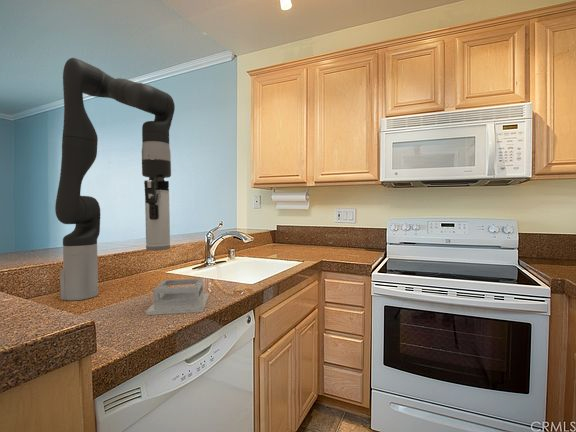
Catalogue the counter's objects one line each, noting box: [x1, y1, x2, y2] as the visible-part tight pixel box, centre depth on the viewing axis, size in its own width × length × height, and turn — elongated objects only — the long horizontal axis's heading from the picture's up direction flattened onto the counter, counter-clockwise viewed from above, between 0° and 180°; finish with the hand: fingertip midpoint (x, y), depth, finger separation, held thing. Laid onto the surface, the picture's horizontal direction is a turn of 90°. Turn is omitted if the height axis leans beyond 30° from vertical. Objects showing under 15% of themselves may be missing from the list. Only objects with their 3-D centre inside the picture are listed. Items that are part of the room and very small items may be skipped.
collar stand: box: [145, 277, 210, 316], centre depth 88 cm, size 15×15×6 cm
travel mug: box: [144, 179, 171, 252], centre depth 84 cm, size 6×7×20 cm
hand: (157, 218), depth 84 cm, fingers closed on travel mug, 6 cm apart
